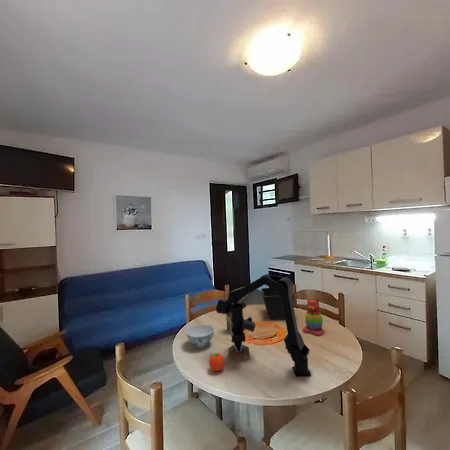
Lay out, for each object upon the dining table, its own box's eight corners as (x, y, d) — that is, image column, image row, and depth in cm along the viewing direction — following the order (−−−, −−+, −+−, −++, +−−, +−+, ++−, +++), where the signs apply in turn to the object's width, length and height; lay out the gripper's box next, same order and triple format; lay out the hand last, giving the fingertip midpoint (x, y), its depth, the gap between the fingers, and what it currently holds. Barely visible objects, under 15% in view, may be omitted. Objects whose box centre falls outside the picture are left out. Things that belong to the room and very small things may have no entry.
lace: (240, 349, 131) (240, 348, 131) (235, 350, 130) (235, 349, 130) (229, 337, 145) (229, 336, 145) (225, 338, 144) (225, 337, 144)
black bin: (265, 322, 164) (264, 295, 163) (262, 311, 182) (261, 287, 182) (295, 321, 163) (294, 294, 162) (289, 310, 182) (288, 286, 181)
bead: (250, 361, 120) (249, 354, 120) (228, 361, 120) (228, 355, 120) (248, 350, 130) (248, 344, 130) (228, 350, 130) (228, 345, 130)
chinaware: (194, 354, 128) (193, 339, 128) (182, 343, 141) (181, 329, 140) (220, 345, 136) (219, 331, 136) (206, 335, 149) (205, 322, 149)
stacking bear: (301, 332, 147) (300, 301, 147) (308, 325, 155) (307, 296, 154) (320, 337, 140) (318, 304, 140) (326, 330, 148) (325, 299, 147)
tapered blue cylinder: (242, 357, 123) (241, 339, 123) (235, 358, 123) (234, 339, 123) (242, 353, 127) (241, 335, 127) (235, 354, 127) (234, 336, 127)
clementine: (204, 369, 115) (203, 353, 115) (216, 362, 120) (215, 347, 120) (216, 376, 110) (216, 360, 109) (228, 369, 114) (227, 353, 114)
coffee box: (244, 329, 154) (242, 303, 154) (242, 334, 148) (240, 306, 148) (229, 328, 156) (227, 302, 156) (226, 333, 150) (225, 306, 150)
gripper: (255, 322, 115) (257, 357, 116) (251, 308, 134) (253, 338, 134) (230, 324, 115) (232, 358, 116) (230, 309, 134) (232, 339, 134)
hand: (238, 347), depth 125 cm, fingers open, 6 cm apart
